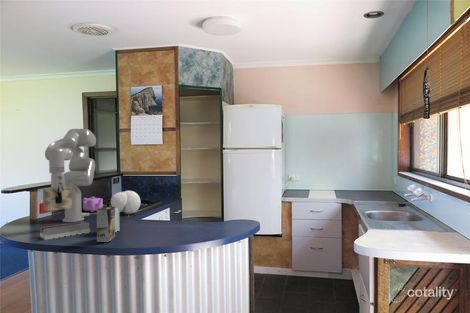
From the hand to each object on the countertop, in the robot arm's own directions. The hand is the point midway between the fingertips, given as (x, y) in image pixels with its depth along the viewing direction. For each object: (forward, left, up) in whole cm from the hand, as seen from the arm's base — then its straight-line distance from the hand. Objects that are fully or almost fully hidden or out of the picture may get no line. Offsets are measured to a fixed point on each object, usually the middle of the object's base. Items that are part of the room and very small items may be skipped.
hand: (57, 202), depth 188 cm
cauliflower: (-48, -17, -16) cm, 53 cm away
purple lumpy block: (-36, -45, -16) cm, 60 cm away
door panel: (0, 0, -4) cm, 4 cm away
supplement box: (-19, +27, -16) cm, 36 cm away
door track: (0, +15, -16) cm, 21 cm away
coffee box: (-11, +42, -16) cm, 46 cm away
